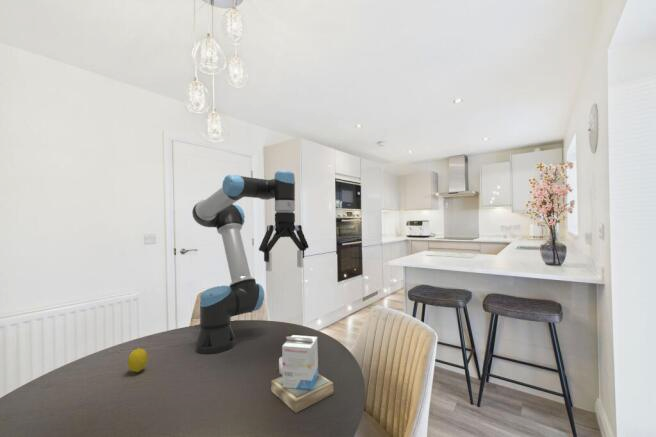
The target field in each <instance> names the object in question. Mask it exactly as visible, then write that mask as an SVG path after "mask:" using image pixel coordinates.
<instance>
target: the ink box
mask: <svg viewBox="0 0 656 437" xmlns="http://www.w3.org/2000/svg"><path fill="white" fill-rule="evenodd" d="M285 338H286V340H285V342H284V343H283V344H282V346H281V352H282V354H281V355H282V356H281V357H282V363H283V375H282V376H283V387H285V388H295V389H306V390H312V388H313V386H314V383H315V381H316V379H317V377H318V374H319V356H318V355H319V354H318V353H319V350H318V348H319V347H318V336H310V335H298V334H297V335H296V334H292V335H291V336H285Z"/></svg>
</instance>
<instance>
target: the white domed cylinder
mask: <svg viewBox="0 0 656 437" xmlns="http://www.w3.org/2000/svg"><path fill="white" fill-rule="evenodd" d="M278 374H279V375H281V376H283V363H282V356H280V357H279V359H278Z"/></svg>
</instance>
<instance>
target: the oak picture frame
mask: <svg viewBox="0 0 656 437" xmlns="http://www.w3.org/2000/svg"><path fill="white" fill-rule="evenodd" d="M270 387H271V389H270V391H271V392H272V393H273V394H274V395H275V396H276V397H279V398H278V399H280V400H281V401H282V402H283V403H284V404H285V405H286V406H288V408H290V409H291V410H292V411H293V412H294V413H295V414H297V413H299V412H301V411H303V410H304V409H306V408H309V407H310V406H311V405H312V406H313V405H314V404H316V403H318V402H320V401H322V400H324V399H326V398H328V397H329V396H331V395H333V394H334V382H333V381H331V380H330V379H327V377H324V376H323V375H321V374H320V373H318V377H317V379H316V381H315V383H314V386H313V388H312V390H306V389H295V388H285V387H283V375H281V376H279V377H277V378H275V379H272V380H271V381H270Z"/></svg>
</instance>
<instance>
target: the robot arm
mask: <svg viewBox="0 0 656 437" xmlns="http://www.w3.org/2000/svg"><path fill="white" fill-rule="evenodd" d="M295 178H296V177H295V173H294V172H293V171H290V170H277V171H275V172H274V178H272V179H264V178H256V177H249V176H243V175H238V174H228V175H226V176H225V177H224V179H223V181H222V187H220V188H219V189H218V190H216V191H215V192H214V193H212V194H211V195H210V196H209V197H208V198H206V199H201V200H200V201H198V202H197V203H195V205H194V207H193V208H192V212H191V213H192V217H193V219H194V221H195V222H196V223H197V224H198V225H200V226H202V227H204V228H205V227H206V228H216V232H217V233H218V234H219V235H221V237H222V242H223V247H224V251H225V255H226V262H227V266H228V271H229V275H230V280H231V282H230V283H229V285H221V286H214V287H210V288H208V289H206V290H204V291H203V292H202V293H201V294H200V298H199V299H200V300H199V331H198V334H197V337H196V340H195V344H194V350H195V352H196V353H199V354H202V355H203V354H204V355H209V354H210V355H211V354H212V355H213V354H219V353H222V352H225V351H227V350H230V349H231V348H233V347H234V346H235V343H236V339H235V338H236V337H235V334H234V331H233V328H232V326H231V325H232V324H231V323H232V322H231V318H232V317H235V316H239V315H243V314H246V313H247V314H248V313H253V312H255V311H258V310H260V308H262V306H263V304H264V299H265V291H264V288H263V286H262V285H261V284H259V283H257V282H256V279H255V278H254V277H253V276H251V271H250V268H249V263H248V259H247V255H246V252H245V247H244V243H243V239H242V234H241V230H242V228H243V226H244V225H245V224H244V223H245V212H244V210H243V208H242V207H241V206H240V205H237V204H235V203H236V202H238V201H239V200H242V198H254V199H260V200H267V201H268V200H271V199H274V212H275V213H274V225H273V224H271V225H270V224H267V227H266V232H265V234H264V236H263V238H262V241H261V243H260V246H259V248H258V251H259V252H263V261H264V262H265V271H267V272H272V267H273V266H272V262H273V261H272V260H273V259H272V252H271V251H272V249H273V247H274V246H275V245H276V243H277V242H278V240H279V239H281V238H290V239H291V240H292V242H293V243H294V245H295V246H296V247H297V251H296V252H297V254H296V258H297V261H296V262H297V263H296V264H297V265H296V266H297V267H298V268H304V267H303V266H304V259H305V251H306V250H307V249H309V244H308V241H307V239H306V238H305V234H304V232H303V227H302V225H301V224H295V222H296V213H294V212H295V210H296V204H295V203H296V201H295V200H296V182H295V181H296V179H295ZM274 231H275V233H274V234H273V232H274ZM295 231H296V233H295ZM272 234H273V236H272ZM271 237H272V238H271Z"/></svg>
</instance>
